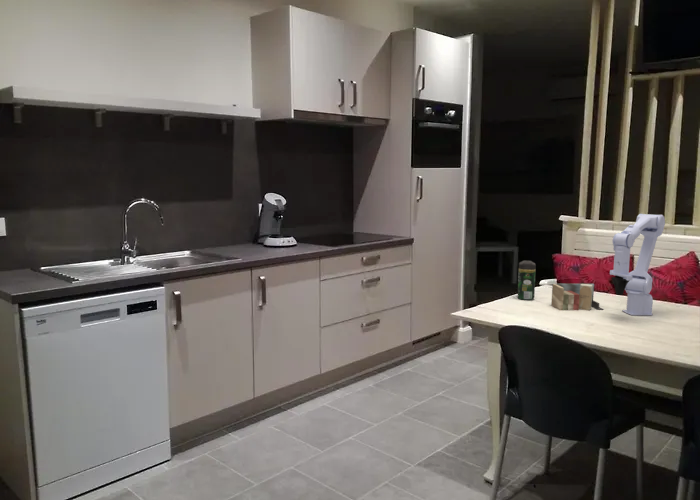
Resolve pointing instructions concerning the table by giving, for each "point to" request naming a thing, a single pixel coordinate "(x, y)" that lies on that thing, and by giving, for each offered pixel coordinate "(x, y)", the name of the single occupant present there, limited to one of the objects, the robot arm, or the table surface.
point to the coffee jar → (526, 280)
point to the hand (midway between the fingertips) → (619, 294)
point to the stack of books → (568, 297)
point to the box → (585, 296)
